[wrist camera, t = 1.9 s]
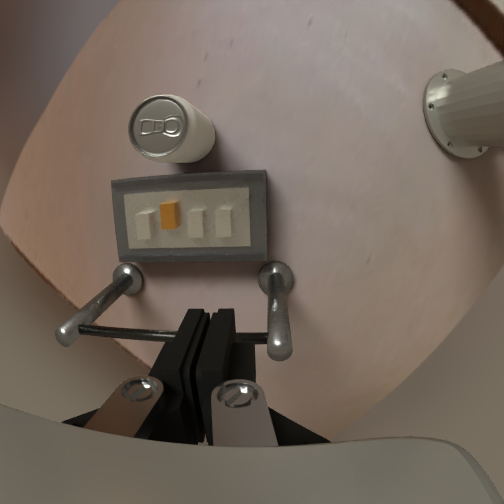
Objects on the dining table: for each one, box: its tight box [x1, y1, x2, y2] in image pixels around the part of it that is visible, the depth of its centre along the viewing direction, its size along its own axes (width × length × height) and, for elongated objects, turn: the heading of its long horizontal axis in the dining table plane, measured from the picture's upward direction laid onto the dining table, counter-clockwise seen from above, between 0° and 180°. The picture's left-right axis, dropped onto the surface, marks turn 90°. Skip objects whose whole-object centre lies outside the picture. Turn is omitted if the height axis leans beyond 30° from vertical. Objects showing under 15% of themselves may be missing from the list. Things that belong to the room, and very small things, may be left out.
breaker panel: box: [111, 170, 267, 262], centre depth 36 cm, size 18×10×6 cm, turn 92°
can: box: [128, 95, 215, 163], centre depth 31 cm, size 6×6×12 cm
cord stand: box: [55, 261, 293, 361], centre depth 33 cm, size 24×4×17 cm, turn 92°
